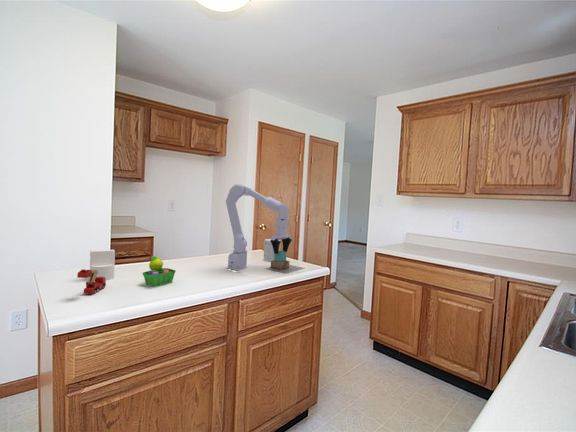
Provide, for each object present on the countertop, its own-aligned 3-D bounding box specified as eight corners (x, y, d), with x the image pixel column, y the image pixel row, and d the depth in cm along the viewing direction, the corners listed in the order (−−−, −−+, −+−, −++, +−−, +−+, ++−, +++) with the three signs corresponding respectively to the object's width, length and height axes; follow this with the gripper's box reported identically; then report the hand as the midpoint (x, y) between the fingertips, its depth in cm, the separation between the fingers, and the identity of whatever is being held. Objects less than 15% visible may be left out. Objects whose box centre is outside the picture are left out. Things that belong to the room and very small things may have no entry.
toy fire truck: (106, 287, 120) (107, 262, 119) (86, 298, 106) (87, 271, 106) (97, 286, 120) (98, 262, 119) (76, 298, 106) (77, 271, 106)
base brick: (280, 270, 157) (281, 263, 157) (270, 268, 161) (270, 260, 161) (289, 268, 163) (289, 261, 162) (278, 266, 167) (279, 258, 166)
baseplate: (285, 275, 151) (285, 273, 151) (263, 270, 159) (264, 268, 159) (305, 269, 165) (305, 268, 165) (285, 265, 174) (285, 263, 174)
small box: (279, 262, 180) (280, 240, 179) (271, 263, 176) (272, 241, 175) (271, 259, 186) (272, 238, 185) (263, 260, 182) (264, 239, 181)
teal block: (280, 262, 159) (281, 252, 158) (274, 260, 161) (274, 251, 161) (286, 261, 162) (286, 251, 162) (279, 259, 165) (279, 250, 164)
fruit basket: (152, 288, 121) (153, 260, 121) (139, 284, 126) (139, 257, 125) (176, 282, 131) (177, 256, 130) (163, 278, 136) (164, 253, 135)
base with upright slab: (88, 281, 125) (88, 253, 124) (91, 276, 133) (91, 249, 132) (113, 280, 129) (114, 252, 129) (114, 274, 137) (115, 248, 137)
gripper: (279, 228, 152) (277, 255, 153) (296, 227, 164) (294, 252, 165) (268, 227, 156) (267, 253, 157) (285, 226, 168) (284, 250, 169)
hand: (280, 252), depth 161 cm, fingers open, 7 cm apart
